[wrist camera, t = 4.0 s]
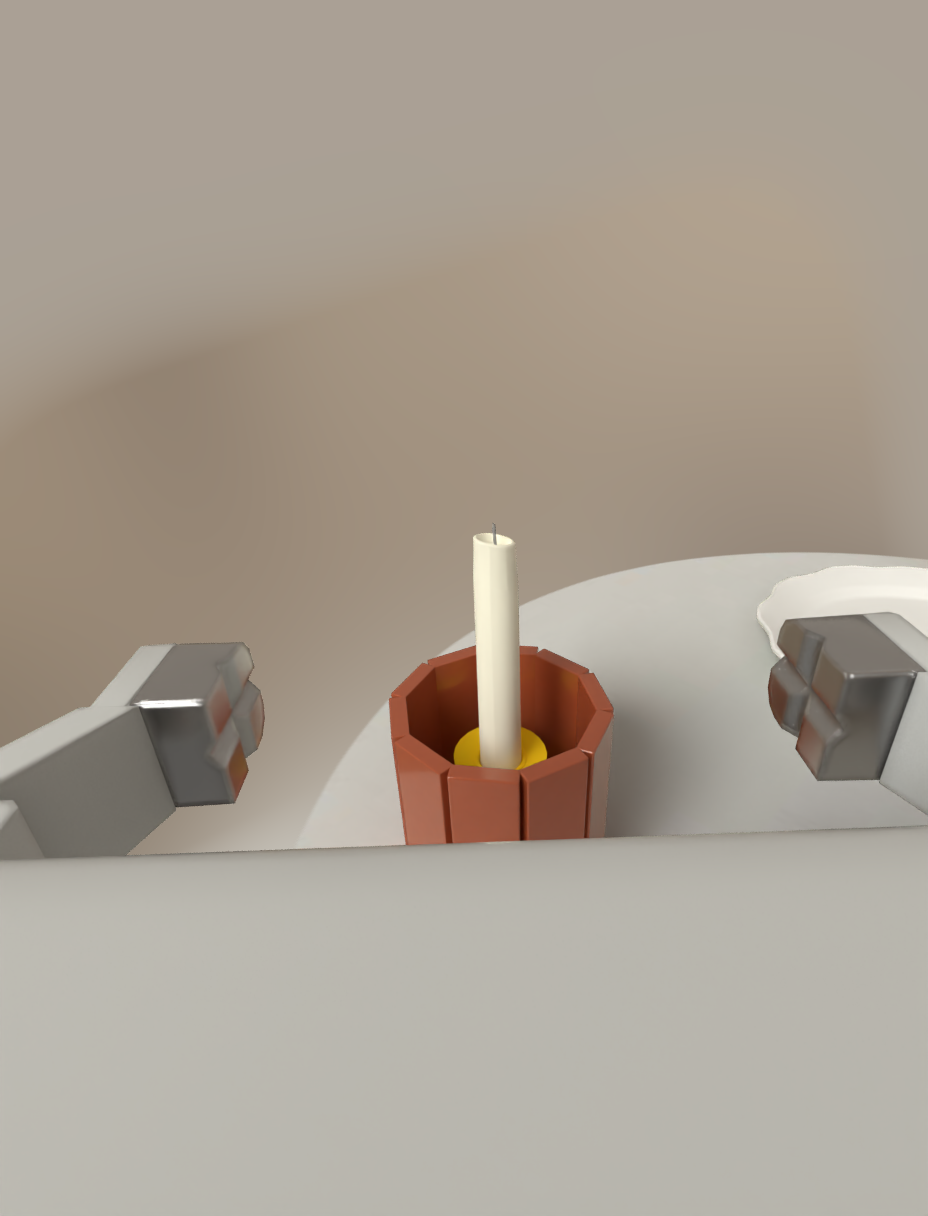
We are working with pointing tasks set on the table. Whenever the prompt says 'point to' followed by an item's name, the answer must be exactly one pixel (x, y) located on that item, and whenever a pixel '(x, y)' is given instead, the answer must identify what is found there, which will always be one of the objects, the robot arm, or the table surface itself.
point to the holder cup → (494, 797)
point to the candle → (497, 663)
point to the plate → (847, 596)
